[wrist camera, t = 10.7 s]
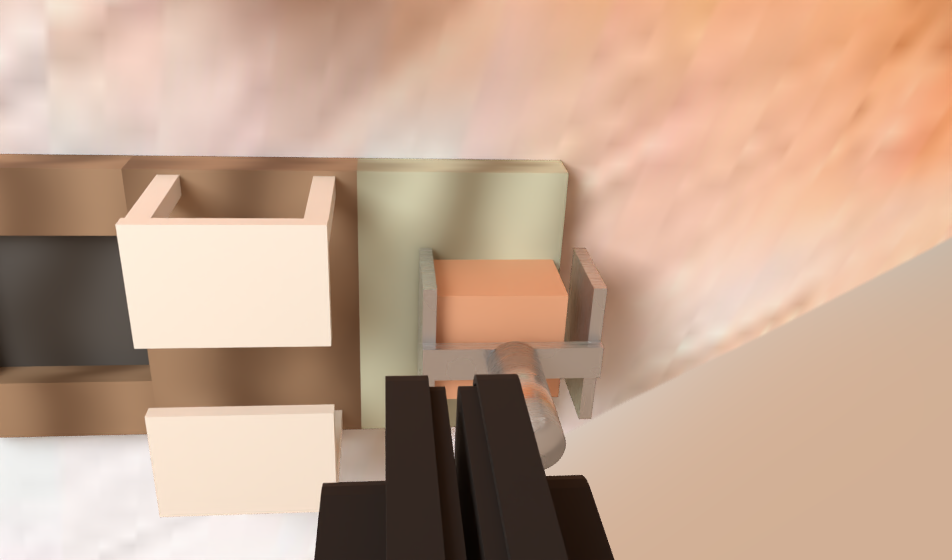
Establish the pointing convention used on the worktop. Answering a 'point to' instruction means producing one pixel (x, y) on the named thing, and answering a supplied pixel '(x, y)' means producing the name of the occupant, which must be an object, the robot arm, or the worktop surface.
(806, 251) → the worktop surface
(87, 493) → the worktop surface
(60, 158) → the board
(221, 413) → the toy bench
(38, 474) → the worktop surface
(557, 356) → the slider
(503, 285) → the block
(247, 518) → the worktop surface
